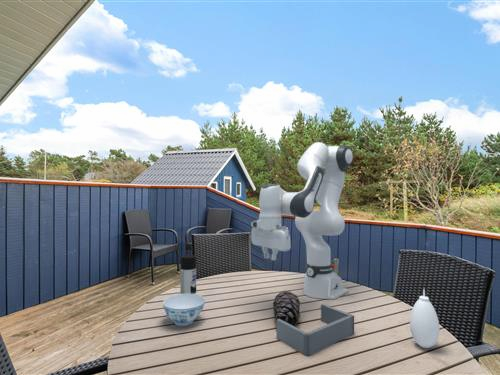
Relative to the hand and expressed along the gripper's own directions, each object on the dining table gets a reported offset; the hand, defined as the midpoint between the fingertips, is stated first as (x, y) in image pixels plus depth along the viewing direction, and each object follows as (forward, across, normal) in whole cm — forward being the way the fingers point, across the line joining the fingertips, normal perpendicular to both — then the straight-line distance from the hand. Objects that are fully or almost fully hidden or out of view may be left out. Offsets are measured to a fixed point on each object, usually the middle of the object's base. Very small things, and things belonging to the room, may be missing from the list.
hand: (270, 259), depth 116 cm
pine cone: (+21, -11, 0) cm, 24 cm away
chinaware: (+21, +12, +31) cm, 39 cm away
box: (+21, -23, 0) cm, 31 cm away
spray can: (+21, +28, +22) cm, 41 cm away
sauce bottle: (+21, -48, -22) cm, 57 cm away
